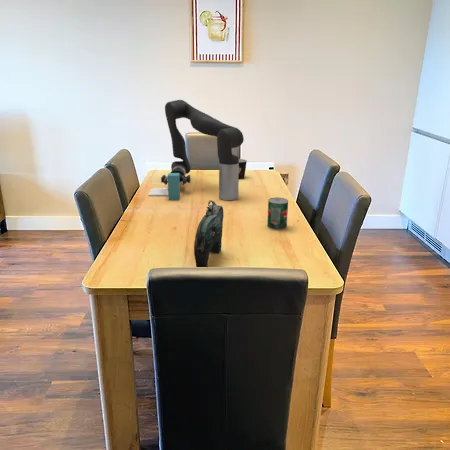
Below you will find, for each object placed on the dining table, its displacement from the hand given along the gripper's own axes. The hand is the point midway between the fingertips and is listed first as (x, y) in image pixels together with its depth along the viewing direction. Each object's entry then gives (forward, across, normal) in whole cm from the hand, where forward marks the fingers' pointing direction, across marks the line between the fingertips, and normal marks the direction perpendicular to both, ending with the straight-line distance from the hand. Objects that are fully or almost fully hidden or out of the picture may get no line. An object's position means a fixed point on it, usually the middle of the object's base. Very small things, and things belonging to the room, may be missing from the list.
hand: (174, 182), depth 214 cm
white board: (-7, -7, +7) cm, 12 cm away
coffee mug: (-39, +31, +7) cm, 50 cm away
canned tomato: (+40, +45, +7) cm, 61 cm away
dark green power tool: (+72, +19, +7) cm, 75 cm away
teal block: (+3, 0, +7) cm, 8 cm away
